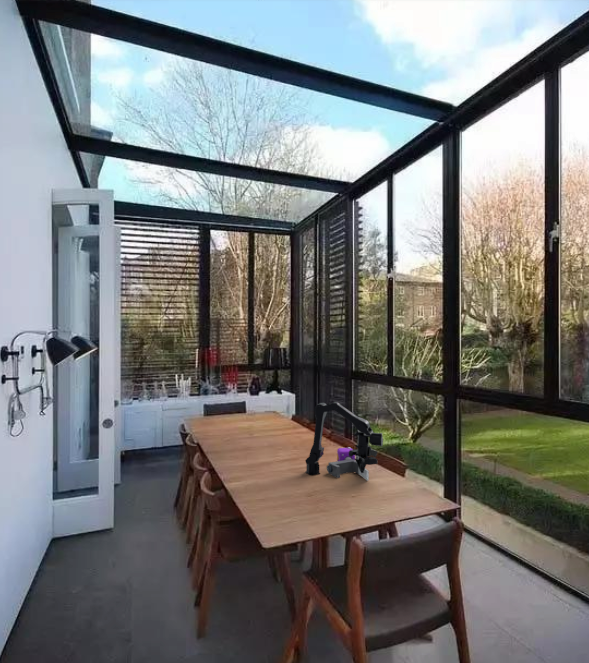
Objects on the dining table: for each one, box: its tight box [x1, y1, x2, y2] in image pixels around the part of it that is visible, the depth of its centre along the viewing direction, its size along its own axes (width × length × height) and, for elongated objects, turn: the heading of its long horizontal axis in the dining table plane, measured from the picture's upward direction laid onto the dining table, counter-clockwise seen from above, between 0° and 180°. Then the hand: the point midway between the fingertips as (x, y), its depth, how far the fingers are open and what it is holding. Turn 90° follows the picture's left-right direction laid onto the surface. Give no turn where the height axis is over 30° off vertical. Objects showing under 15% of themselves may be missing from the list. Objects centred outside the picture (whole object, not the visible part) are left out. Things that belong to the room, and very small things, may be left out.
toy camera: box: [336, 446, 356, 461], centre depth 254 cm, size 11×14×10 cm
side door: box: [357, 467, 370, 481], centre depth 232 cm, size 11×1×5 cm, turn 15°
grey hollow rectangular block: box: [326, 459, 359, 479], centre depth 239 cm, size 17×9×6 cm, turn 117°
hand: (362, 472), depth 230 cm, fingers closed
